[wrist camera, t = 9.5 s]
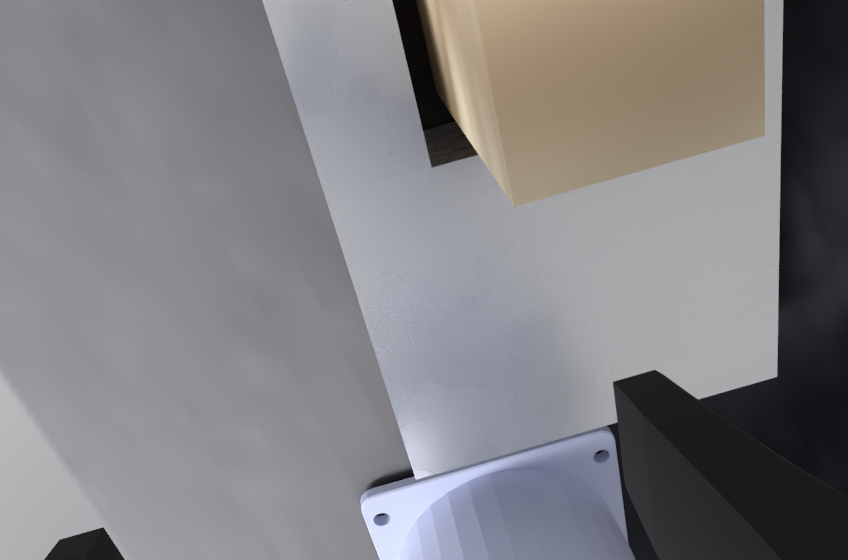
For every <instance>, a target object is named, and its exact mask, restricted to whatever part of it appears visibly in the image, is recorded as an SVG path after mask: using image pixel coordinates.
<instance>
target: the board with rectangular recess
mask: <svg viewBox="0 0 848 560" xmlns="http://www.w3.org/2000/svg"><path fill="white" fill-rule="evenodd" d="M262 1H263V4H264V7H265V10H266V13H267V16H268V19H269V22H270V26H271V29H272V32H273V35H274V38H275V41H276V44H277V47H278V51H279V54H280V57H281V60H282V63H283V66H284V69H285V72H286V76H287V79H288V82H289V85H290V88H291V91H292V94H293V97H294V101H295V104H296V107H297V110H298V113H299V116H300V119H301V122H302V126H303V129H304V132H305V135H306V138H307V141H308V144H309V147H310V151H311V154H312V157H313V160H314V163H315V166H316V169H317V172H318V176H319V179H320V182H321V185H322V188H323V191H324V194H325V197H326V201H327V204H328V207H329V210H330V213H331V216H332V219H333V222H334V226H335V229H336V232H337V235H338V238H339V241H340V244H341V247H342V251H343V254H344V257H345V260H346V263H347V266H348V269H349V273H350V276H351V279H352V282H353V285H354V288H355V291H356V294H357V298H358V301H359V304H360V307H361V310H362V313H363V316H364V319H365V323H366V326H367V329H368V332H369V335H370V338H371V341H372V344H373V348H374V351H375V354H376V357H377V360H378V363H379V366H380V369H381V373H382V376H383V379H384V382H385V385H386V388H387V391H388V394H389V398H390V401H391V404H392V407H393V410H394V413H395V416H396V419H397V423H398V426H399V429H400V432H401V435H402V438H403V441H404V444H405V448H406V451H407V454H408V457H409V460H410V463H411V466H412V469H413V473H414V476H415V479H416V480H417V479H421V478H424V477H428V476H431V475H435V474H438V473H442V472H445V471H449V470H452V469H456V468H459V467H463V466H467V465H470V464H474V463H477V462H481V461H484V460H488V459H491V458H495V457H498V456H502V455H505V454H509V453H512V452H516V451H519V450H523V449H526V448H530V447H533V446H537V445H540V444H544V443H547V442H551V441H554V440H558V439H561V438H565V437H568V436H572V435H575V434H579V433H582V432H586V431H589V430H593V429H596V428H600V427H603V426H607V425H610V424H614V423H617V413H616V405H615V396H614V388H613V382H614V381H617V380H621V379H624V378H628V377H631V376H635V375H638V374H642V373H645V372H649V371H652V370H657V371H658V372H660V373H662V374H663V375H665V376H666V377H668V378H669V379H670V380H672V381H673V382H674V383H676V384H677V385H679V386H680V387H681V388H683V389H684V390H685V391H687V392H688V393H690V394H691V395H692V396H694V397H695V398H697V399H701V398H705V397H708V396H712V395H715V394H719V393H722V392H726V391H729V390H733V389H736V388H740V387H743V386H747V385H750V384H754V383H757V382H761V381H764V380H768V379H771V378H775V377H777V357H778V295H779V234H780V173H781V111H782V50H783V0H764V23H765V136H762V137H759V138H755V139H752V140H748V141H745V142H741V143H738V144H734V145H731V146H727V147H724V148H720V149H717V150H713V151H710V152H706V153H703V154H699V155H696V156H692V157H688V158H685V159H681V160H678V161H674V162H671V163H667V164H664V165H660V166H657V167H653V168H650V169H646V170H643V171H639V172H636V173H632V174H629V175H625V176H622V177H618V178H614V179H611V180H607V181H604V182H600V183H597V184H593V185H590V186H586V187H583V188H579V189H576V190H572V191H569V192H565V193H562V194H558V195H555V196H551V197H548V198H544V199H540V200H537V201H533V202H530V203H526V204H523V205H519V206H516V207H514V206H513V205H512V203H511V202H510V200H509V199H508V197H507V196H506V194H505V193H504V191H503V190H502V189H501V187H500V186H499V184H498V183H497V181H496V180H495V178H494V177H493V175H492V174H491V172H490V171H489V169H488V168H487V166H486V165H485V163H484V162H483V161H482V159H481V158H480V156H479V155H478V153H477V152H476V150H475V149H474V147H473V146H472V144H471V143H470V141H469V140H468V138H467V137H466V135H465V134H464V132H463V131H462V130H461V128H460V127H459V125H458V124H457V122H456V121H455V122H452V123H448V124H444V125H441V126H437V127H433V128H430V129H426V130H423V129H422V125H421V120H420V116H419V112H418V108H417V103H416V99H415V95H414V91H413V86H412V82H411V78H410V74H409V69H408V65H407V61H406V57H405V53H404V48H403V44H402V40H401V36H400V31H399V27H398V23H397V19H396V14H395V10H394V6H393V2H392V0H262Z"/></svg>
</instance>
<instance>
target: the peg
mask: <svg viewBox="0 0 848 560" xmlns="http://www.w3.org/2000/svg"><path fill="white" fill-rule="evenodd" d="M416 4H417V9H418V13H419V17H420V22H421V26H422V30H423V35H424V39H425V44H426V48H427V52H428V57H429V61H430V65H431V70H432V74H433V79H434V83H435V87H436V92H437V94H438V96H439V97H440V99H441V100H442V102H443V103H444V104H445V106H446V107H447V109H448V110H449V112H450V113H451V115H452V116H453V118H454V119H455V121H456V122H457V124H458V125H459V127H460V128H461V130H462V131H463V132H464V134H465V135H466V137H467V138H468V140H469V141H470V143H471V144H472V146H473V147H474V149H475V150H476V152H477V153H478V155H479V156H480V158H481V159H482V161H483V162H484V163H485V165H486V166H487V168H488V169H489V171H490V172H491V174H492V175H493V177H494V178H495V180H496V181H497V183H498V184H499V186H500V187H501V189H502V190H503V191H504V193H505V194H506V196H507V197H508V199H509V200H510V202H511V203H512V205H513V206H514V207H516V206H519V205H523V204H526V203H530V202H533V201H537V200H540V199H544V198H548V197H551V196H555V195H558V194H562V193H565V192H569V191H572V190H576V189H579V188H583V187H586V186H590V185H593V184H597V183H600V182H604V181H607V180H611V179H614V178H618V177H622V176H625V175H629V174H632V173H636V172H639V171H643V170H646V169H650V168H653V167H657V166H660V165H664V164H667V163H671V162H674V161H678V160H681V159H685V158H688V157H692V156H696V155H699V154H703V153H706V152H710V151H713V150H717V149H720V148H724V147H727V146H731V145H734V144H738V143H741V142H745V141H748V140H752V139H755V138H759V137H762V136H765V23H764V0H416Z"/></svg>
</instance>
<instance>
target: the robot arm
mask: <svg viewBox="0 0 848 560" xmlns="http://www.w3.org/2000/svg"><path fill="white" fill-rule="evenodd" d="M613 388H614V396H615V405H616V413H617V422H618V430H619V439H620V447H621V456H622V464H623V472H624V481H625V487H626V489H627V491H628V493H629V495H630V498H631V500H632V502H633V504H634V507H635V509H636V511H637V513H638V515H639V518H640V520H641V522H642V524H643V526H644V529H645V531H646V533H647V535H648V537H649V539H650V541H651V543H652V546H653V548H654V550H655V552H656V554H657V555H658V557H659V559H660V560H848V497H847V496H846V495H844V494H842V493H840V492H839V491H837V490H835V489H834V488H832V487H830V486H828V485H827V484H825V483H823V482H822V481H820V480H819V479H817V478H815V477H814V476H812V475H810V474H809V473H807V472H805V471H804V470H802V469H801V468H799V467H798V466H796V465H794V464H793V463H791V462H790V461H788V460H787V459H785V458H784V457H782V456H780V455H779V454H777V453H776V452H774V451H773V450H771V449H770V448H768V447H766V446H765V445H763V444H762V443H760V442H759V441H757V440H756V439H754V438H753V437H751V436H750V435H748V434H747V433H745V432H744V431H742V430H741V429H739V428H738V427H736V426H735V425H734V424H732V423H731V422H729V421H728V420H726V419H725V418H723V417H722V416H721V415H719V414H718V413H716V412H715V411H713V410H712V409H711V408H709V407H708V406H706V405H705V404H704V403H702V402H701V401H699V400H698V399H697V398H695V397H694V396H692V395H691V394H690V393H688V392H687V391H685V390H684V389H683V388H681V387H680V386H679V385H677V384H676V383H674V382H673V381H672V380H670V379H669V378H668V377H666V376H665V375H663V374H662V373H660V372H658V371H657V370H652V371H649V372H645V373H642V374H638V375H635V376H631V377H628V378H624V379H621V380H617V381H614V382H613ZM600 450H603V451H602V452H601V453H599V454H595V453H596V452H598V451H600ZM360 501H361V510H362V514H363V516H364V519H365V522H366V524H367V527H368V530H369V532H370V535H371V537H372V540H373V543H374V545H375V548H376V550H377V553H378V556H379V558H380V560H636V559H635V557H634V555H633V553H632V551H631V549H630V547H629V544H628V536H627V529H626V521H625V513H624V505H623V498H622V490H621V482H620V474H619V467H618V459H617V451H616V443H615V438H614V436H613V434H612V432H611V430H610V428H608V427H607V426H603V427H600V428H596V429H593V430H589V431H586V432H582V433H579V434H575V435H572V436H568V437H565V438H561V439H558V440H554V441H551V442H547V443H544V444H540V445H537V446H533V447H530V448H526V449H523V450H519V451H516V452H512V453H509V454H505V455H502V456H498V457H495V458H491V459H488V460H484V461H481V462H477V463H474V464H470V465H467V466H463V467H459V468H456V469H452V470H449V471H445V472H442V473H438V474H435V475H431V476H428V477H424V478H421V479H417V480H416V479H415V476H414V477H410V478H407V479H403V480H400V481H396V482H393V483H389V484H386V485H382V486H379V487H375V488H372V489H370V490H367V491H366V492H365V493H364V494H363V495H362V497H361V499H360ZM380 513H386V514H385V515H383V516H376V515H378V514H380ZM45 560H125V559H124V558H123V557H122V555H121V553H120V552H119V550H118V549H117V547H116V546H115V544H114V543H113V541H112V540H111V538H110V537H109V535H108V534H107V532H106V531H105V529H104V528H100V529H96V530H93V531H89V532H86V533H82V534H79V535H75V536H72V537H68V538H65V539H61V540H59V541H58V543H57V544H56V545H55V547H54V548H53V549H52V550H51V552H50V553H49V554H48V556H47V557H46V558H45Z"/></svg>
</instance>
